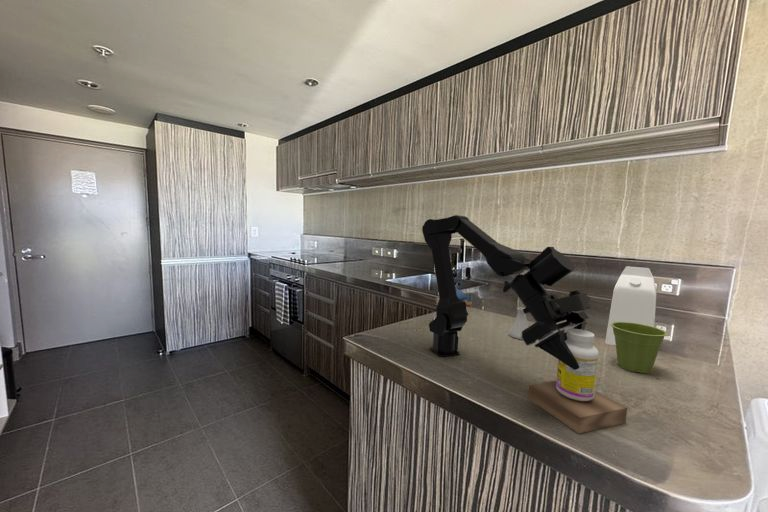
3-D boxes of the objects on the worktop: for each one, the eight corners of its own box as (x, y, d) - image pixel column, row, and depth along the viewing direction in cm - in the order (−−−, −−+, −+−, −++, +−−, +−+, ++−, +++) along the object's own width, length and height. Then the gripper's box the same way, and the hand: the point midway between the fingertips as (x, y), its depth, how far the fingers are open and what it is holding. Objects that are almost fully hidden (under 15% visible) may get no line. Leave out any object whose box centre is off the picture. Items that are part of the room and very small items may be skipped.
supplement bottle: (559, 381, 67) (565, 324, 66) (596, 393, 62) (603, 332, 61) (551, 393, 62) (557, 331, 61) (590, 407, 57) (597, 340, 56)
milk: (653, 344, 103) (662, 268, 101) (652, 353, 95) (661, 270, 93) (609, 335, 112) (617, 264, 109) (604, 342, 103) (612, 266, 101)
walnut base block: (578, 433, 55) (580, 417, 54) (527, 398, 66) (528, 384, 66) (625, 422, 58) (627, 407, 58) (569, 390, 70) (570, 378, 70)
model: (445, 303, 152) (446, 285, 151) (456, 301, 158) (457, 283, 157) (466, 309, 143) (467, 289, 142) (477, 306, 149) (478, 287, 148)
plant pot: (611, 355, 92) (615, 319, 91) (664, 369, 84) (669, 329, 83) (602, 366, 84) (606, 326, 83) (660, 383, 75) (665, 338, 74)
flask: (521, 341, 101) (524, 312, 100) (504, 334, 108) (506, 306, 107) (536, 338, 105) (538, 310, 104) (518, 332, 111) (520, 305, 110)
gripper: (542, 279, 58) (604, 357, 50) (583, 274, 69) (639, 337, 61) (501, 310, 65) (549, 383, 57) (544, 301, 76) (590, 360, 68)
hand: (584, 364), depth 60 cm, fingers closed on supplement bottle, 7 cm apart
